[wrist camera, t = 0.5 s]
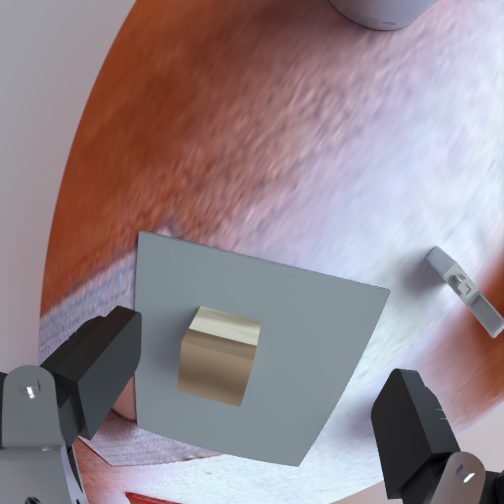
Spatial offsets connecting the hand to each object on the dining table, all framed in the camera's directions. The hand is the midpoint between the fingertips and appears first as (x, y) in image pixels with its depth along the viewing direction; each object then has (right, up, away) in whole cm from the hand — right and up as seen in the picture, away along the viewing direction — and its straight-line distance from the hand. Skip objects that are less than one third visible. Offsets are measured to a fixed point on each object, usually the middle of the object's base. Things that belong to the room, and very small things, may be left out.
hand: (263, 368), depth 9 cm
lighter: (+19, +1, +18) cm, 26 cm away
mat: (-2, -11, +25) cm, 27 cm away
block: (-3, -5, +22) cm, 23 cm away
